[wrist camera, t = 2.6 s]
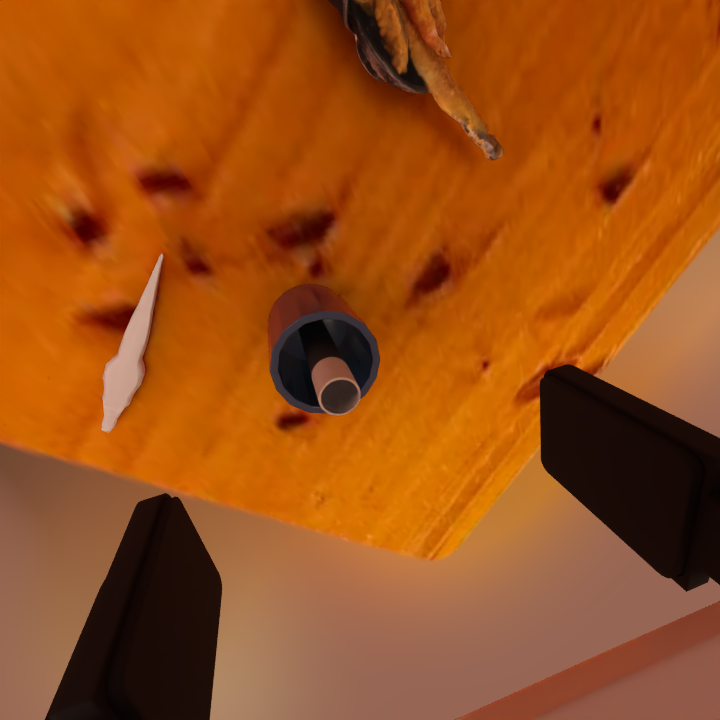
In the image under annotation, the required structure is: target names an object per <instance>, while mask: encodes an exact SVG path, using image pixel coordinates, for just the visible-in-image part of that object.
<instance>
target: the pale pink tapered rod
mask: <svg viewBox="0 0 720 720" xmlns="http://www.w3.org/2000/svg"><path fill="white" fill-rule="evenodd" d="M162 261H163V254H161V255H160V256H159V259H158V261H157V264H156V266H155V268H154V270H153V273H152V275H151V277H150V279H149V282H148V284H147V286H146V288H145V290H144V292H143V294H142V296H141V299H140V301H139V304H138V306H137V308H136V310H135V312H134V313H133V315H132V317H131V320H130V322H129V324H128V326H127V329H126V331H125V334H124V336H123V339H122V341H121V345H120V348H119V351H118V354H116V355H115V356H114V357H113V358H112V359H111V360H110V361H109V362H108V363H107V364H106V366H105V370H104V373H103V382H104V393H103V395H102V400H103V404H104V406H103V409H104V419H103V421H102V431H104V432H110V431H112V430H113V427H114V426H116V424H117V419H118V417H119V416H120V415H121V412H122V411H123V410H124V408H125V407H127V406H129V405H130V403H131V400H132V397H133V395H134V393H135V392H136V390H137V389H138V388H139V387H140V385H141V383H142V380H143V377H144V375H145V372H146V370H145V365H144V362H143V359H142V357H143V355H144V352H145V349H146V347H147V343H148V339H149V335H150V330H151V324H152V317H153V309H154V306H155V300H156V294H157V289H158V283H159V277H160V272H161V266H162Z"/></svg>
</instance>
